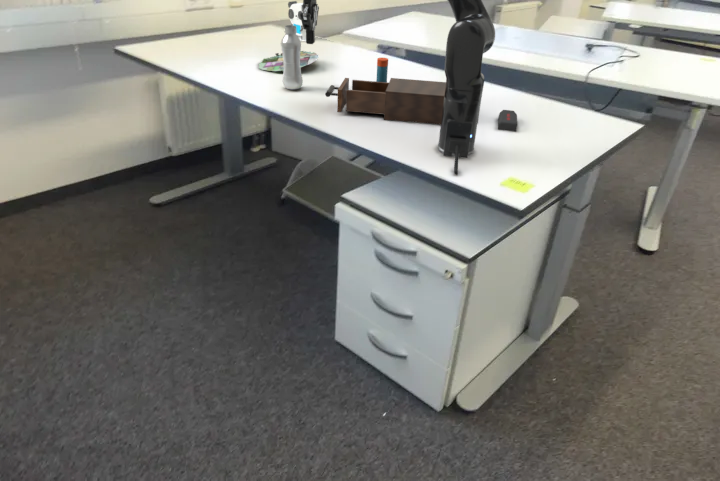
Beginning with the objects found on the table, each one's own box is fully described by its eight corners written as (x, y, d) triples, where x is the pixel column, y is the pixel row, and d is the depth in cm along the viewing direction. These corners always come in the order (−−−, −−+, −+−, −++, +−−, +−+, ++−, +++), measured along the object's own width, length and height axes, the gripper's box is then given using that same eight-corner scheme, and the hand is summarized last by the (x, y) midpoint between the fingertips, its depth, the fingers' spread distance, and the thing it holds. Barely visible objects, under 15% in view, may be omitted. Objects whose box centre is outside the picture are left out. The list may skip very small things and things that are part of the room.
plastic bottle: (303, 91, 181) (302, 28, 170) (283, 91, 180) (280, 28, 169) (302, 85, 186) (300, 24, 175) (282, 86, 185) (279, 24, 174)
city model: (253, 63, 214) (250, 48, 211) (311, 53, 219) (309, 38, 216) (264, 83, 195) (261, 66, 191) (327, 71, 200) (325, 55, 196)
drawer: (323, 110, 163) (323, 88, 159) (331, 98, 173) (331, 76, 170) (395, 117, 161) (396, 94, 157) (399, 103, 171) (401, 82, 167)
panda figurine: (282, 37, 245) (280, 1, 237) (302, 34, 251) (301, -1, 243) (298, 42, 238) (297, 6, 229) (318, 39, 244) (318, 3, 236)
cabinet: (383, 119, 161) (385, 91, 156) (389, 104, 172) (390, 77, 168) (446, 125, 159) (450, 96, 154) (447, 109, 170) (451, 82, 165)
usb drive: (497, 129, 157) (499, 120, 156) (498, 115, 167) (499, 107, 165) (516, 131, 156) (517, 122, 155) (515, 117, 166) (517, 109, 165)
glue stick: (385, 98, 178) (387, 60, 171) (374, 97, 178) (376, 59, 172) (386, 94, 181) (388, 58, 174) (376, 93, 181) (378, 57, 175)
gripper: (302, -26, 156) (303, 37, 165) (289, -20, 145) (292, 47, 154) (327, -24, 155) (327, 39, 164) (317, -18, 144) (317, 49, 153)
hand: (310, 43), depth 159 cm, fingers closed
